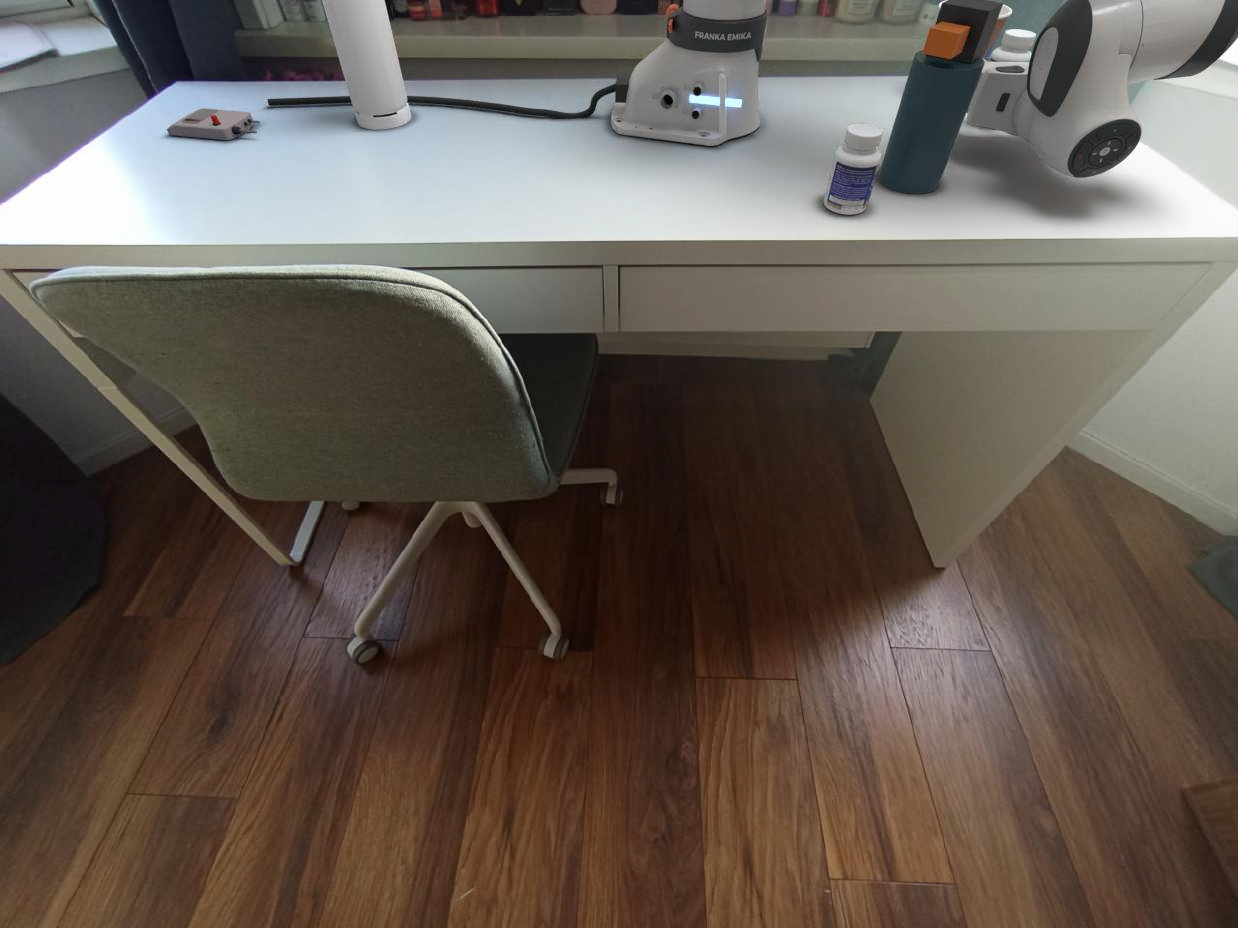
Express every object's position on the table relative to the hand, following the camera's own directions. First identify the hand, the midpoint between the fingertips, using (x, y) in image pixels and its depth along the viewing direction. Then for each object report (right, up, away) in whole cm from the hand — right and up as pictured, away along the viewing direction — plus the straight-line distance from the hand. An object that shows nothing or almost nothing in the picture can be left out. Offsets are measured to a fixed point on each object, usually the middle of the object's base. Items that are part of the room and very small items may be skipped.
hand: (1004, 65), depth 90 cm
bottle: (-91, -4, +7) cm, 92 cm away
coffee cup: (-2, +3, +13) cm, 14 cm away
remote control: (-115, -7, +4) cm, 115 cm away
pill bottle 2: (0, -4, +4) cm, 6 cm away
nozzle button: (-20, -12, -21) cm, 31 cm away
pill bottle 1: (-27, -25, -12) cm, 39 cm away
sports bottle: (-17, -20, -8) cm, 27 cm away
